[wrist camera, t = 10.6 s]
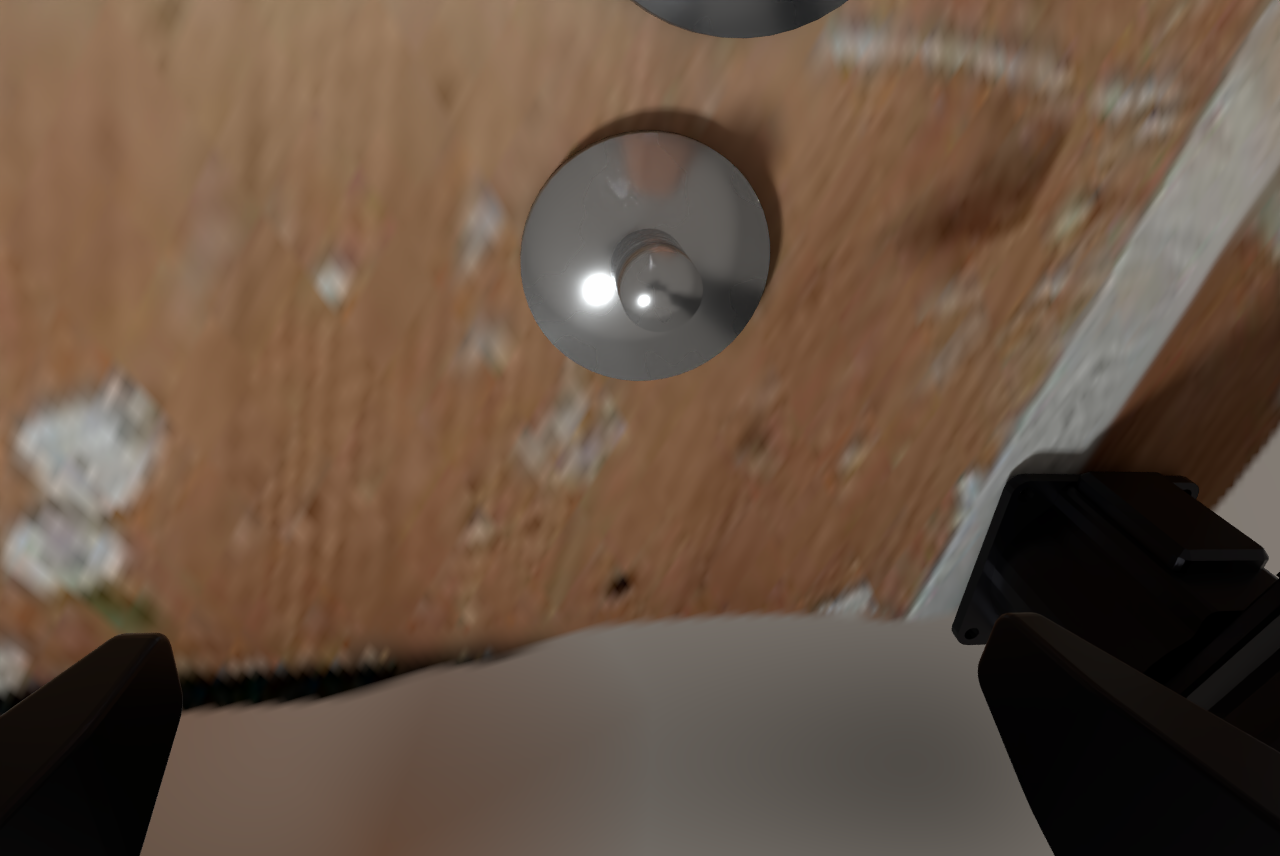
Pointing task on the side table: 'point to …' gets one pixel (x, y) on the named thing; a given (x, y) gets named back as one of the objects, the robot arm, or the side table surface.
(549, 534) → the side table surface
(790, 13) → the hub
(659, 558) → the side table surface
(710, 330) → the metal knobbed lid
